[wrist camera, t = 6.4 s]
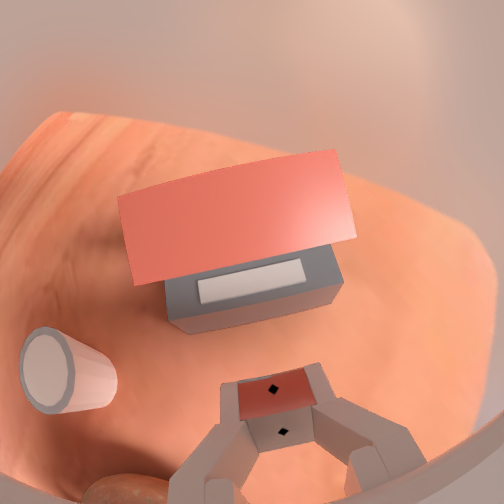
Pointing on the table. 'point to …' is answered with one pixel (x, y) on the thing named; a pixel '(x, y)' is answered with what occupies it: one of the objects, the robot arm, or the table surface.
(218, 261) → the lever
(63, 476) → the table surface
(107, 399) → the shot glass
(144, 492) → the ceramic jug
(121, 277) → the table surface
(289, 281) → the switch box
